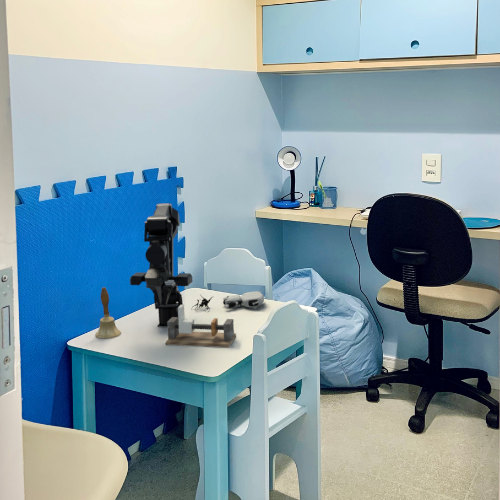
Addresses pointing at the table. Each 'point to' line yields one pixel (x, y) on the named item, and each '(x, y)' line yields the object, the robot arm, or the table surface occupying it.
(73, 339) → the table surface
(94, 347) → the table surface
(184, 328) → the white l-bracket
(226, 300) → the robot toy
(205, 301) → the creature
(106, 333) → the hand bell
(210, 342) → the rail board
